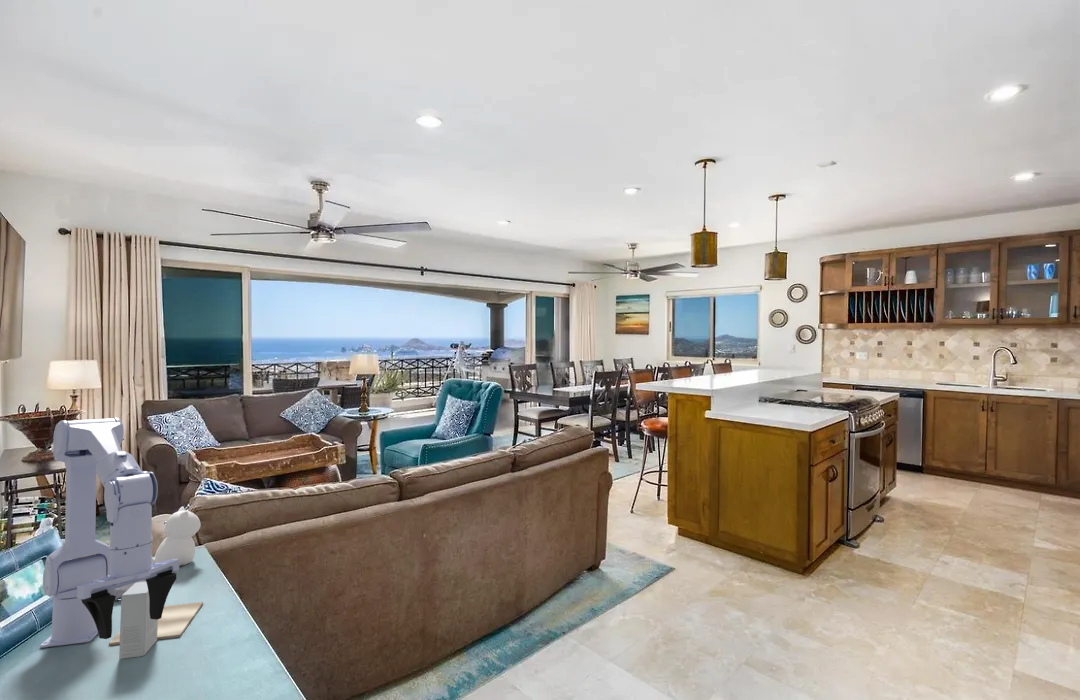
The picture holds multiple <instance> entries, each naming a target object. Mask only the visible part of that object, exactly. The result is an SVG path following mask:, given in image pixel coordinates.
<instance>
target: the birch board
mask: <svg viewBox="0 0 1080 700" xmlns="http://www.w3.org/2000/svg"><path fill="white" fill-rule="evenodd" d="M203 604H204V602H203V601H199V602H190V603H180V604H169V605H164V609H163V613H162V617H161V619H158V630H157V640H156V641H159V640H165V639H174V638H175V639H176V638H180V637H182V635H183V633H184V632H185V630H186V629H187V627H189V625H190V623H191V622H192V621H193V619H194V617H196V615H197V614H198V612H199V610H200V609H201V608H202V607H203ZM114 645H115V646H117V645H120V631H119V632H117V634H116V635H115V636H114V637H113V638H112V639H111V640H109V642H108V646H114Z"/></svg>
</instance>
